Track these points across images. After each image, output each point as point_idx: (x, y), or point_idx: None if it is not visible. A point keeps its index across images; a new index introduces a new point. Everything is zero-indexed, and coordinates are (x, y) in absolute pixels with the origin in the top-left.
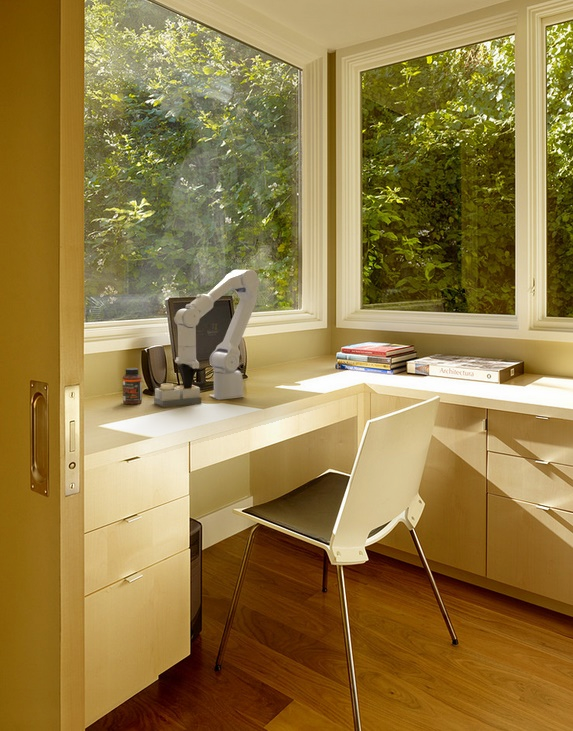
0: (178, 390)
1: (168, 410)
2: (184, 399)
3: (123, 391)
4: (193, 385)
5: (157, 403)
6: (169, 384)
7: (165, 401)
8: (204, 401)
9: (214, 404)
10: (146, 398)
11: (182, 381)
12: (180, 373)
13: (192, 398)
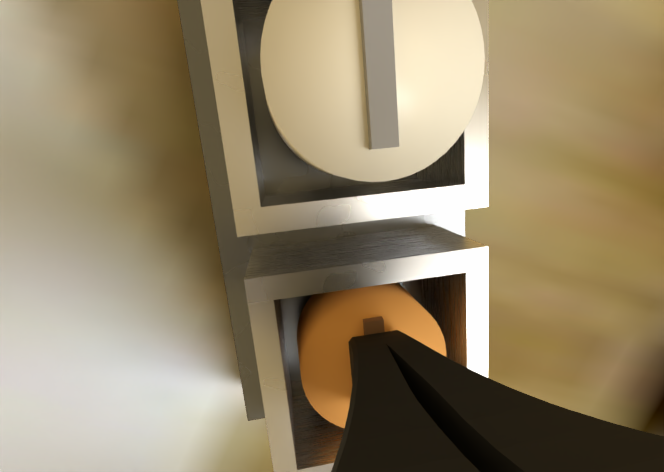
0: (237, 217)
1: (43, 33)
2: (222, 256)
3: None
4: None
5: None
6: (354, 104)
7: (182, 31)
8: None
9: (177, 465)
10: (653, 18)
11: (435, 356)
12: (551, 426)
13: (234, 337)
